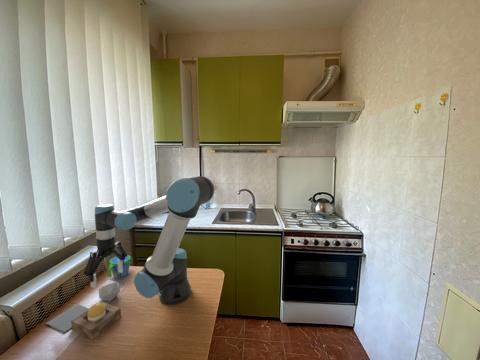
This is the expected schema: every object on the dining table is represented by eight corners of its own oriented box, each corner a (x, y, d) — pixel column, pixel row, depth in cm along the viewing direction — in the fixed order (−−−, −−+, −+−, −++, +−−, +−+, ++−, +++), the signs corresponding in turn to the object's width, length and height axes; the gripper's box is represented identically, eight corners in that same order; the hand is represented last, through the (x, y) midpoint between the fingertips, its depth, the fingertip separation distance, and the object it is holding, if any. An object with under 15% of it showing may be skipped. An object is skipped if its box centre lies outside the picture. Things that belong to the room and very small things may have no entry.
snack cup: (115, 285, 111) (114, 267, 110) (101, 280, 115) (100, 263, 114) (138, 270, 126) (138, 254, 125) (126, 267, 130) (125, 251, 129)
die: (124, 296, 103) (122, 276, 107) (113, 299, 95) (110, 276, 99) (108, 303, 103) (106, 282, 107) (94, 306, 95) (93, 283, 99)
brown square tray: (120, 317, 89) (120, 308, 89) (92, 339, 78) (91, 330, 78) (101, 309, 94) (100, 301, 93) (71, 330, 82) (71, 320, 82)
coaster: (95, 312, 92) (95, 310, 92) (64, 333, 81) (64, 331, 81) (77, 305, 96) (77, 303, 96) (46, 324, 85) (46, 323, 85)
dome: (109, 318, 87) (108, 301, 87) (94, 329, 82) (93, 311, 81) (99, 314, 90) (98, 298, 89) (84, 324, 84) (83, 307, 83)
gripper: (123, 227, 111) (124, 265, 114) (71, 246, 88) (74, 292, 90) (133, 229, 108) (135, 268, 111) (83, 249, 85) (86, 297, 88)
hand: (108, 279), depth 101 cm, fingers open, 13 cm apart
